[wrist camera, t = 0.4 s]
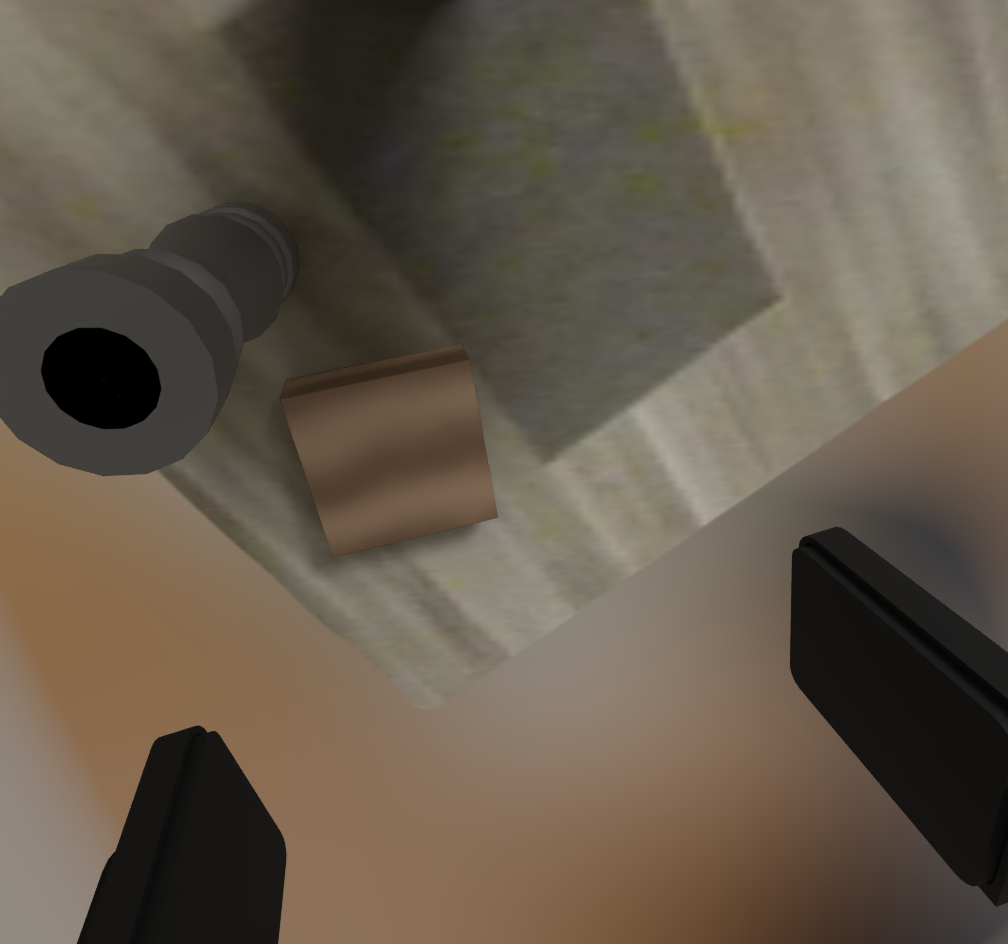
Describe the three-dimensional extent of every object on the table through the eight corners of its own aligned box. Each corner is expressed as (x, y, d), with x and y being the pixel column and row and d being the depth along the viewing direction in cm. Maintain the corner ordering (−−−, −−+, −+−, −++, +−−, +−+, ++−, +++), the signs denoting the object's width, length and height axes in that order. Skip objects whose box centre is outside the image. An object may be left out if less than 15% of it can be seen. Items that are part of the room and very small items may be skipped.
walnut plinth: (286, 380, 42) (279, 399, 39) (460, 344, 44) (469, 359, 40) (334, 528, 48) (333, 557, 44) (487, 492, 49) (497, 517, 46)
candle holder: (317, 243, 39) (269, 346, 17) (269, 327, 41) (167, 519, 19) (220, 179, 37) (19, 202, 15) (172, 270, 38) (-77, 416, 16)
